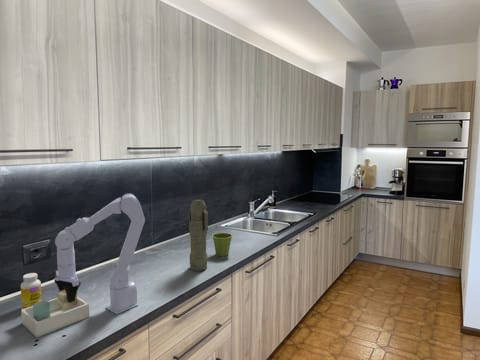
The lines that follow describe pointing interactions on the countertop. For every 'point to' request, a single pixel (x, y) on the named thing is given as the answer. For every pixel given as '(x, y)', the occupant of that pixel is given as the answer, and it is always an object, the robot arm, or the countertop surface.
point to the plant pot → (222, 243)
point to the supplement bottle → (30, 290)
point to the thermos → (198, 235)
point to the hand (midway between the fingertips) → (68, 299)
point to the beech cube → (65, 300)
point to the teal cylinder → (41, 310)
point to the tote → (54, 317)
